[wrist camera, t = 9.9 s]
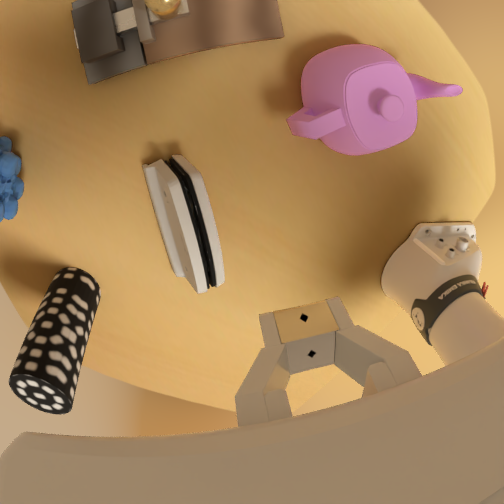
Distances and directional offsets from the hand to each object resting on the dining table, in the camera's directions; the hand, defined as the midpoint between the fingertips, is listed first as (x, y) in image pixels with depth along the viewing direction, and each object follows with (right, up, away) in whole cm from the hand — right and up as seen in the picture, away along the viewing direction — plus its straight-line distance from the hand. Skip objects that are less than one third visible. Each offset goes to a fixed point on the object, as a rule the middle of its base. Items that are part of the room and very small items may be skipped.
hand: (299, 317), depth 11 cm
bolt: (-14, +27, +13) cm, 33 cm away
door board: (-10, +29, +15) cm, 34 cm away
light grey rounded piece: (-10, +7, +29) cm, 32 cm away
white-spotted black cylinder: (-29, -3, +32) cm, 44 cm away
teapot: (+11, +22, +24) cm, 34 cm away
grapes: (-32, +15, +20) cm, 41 cm away
